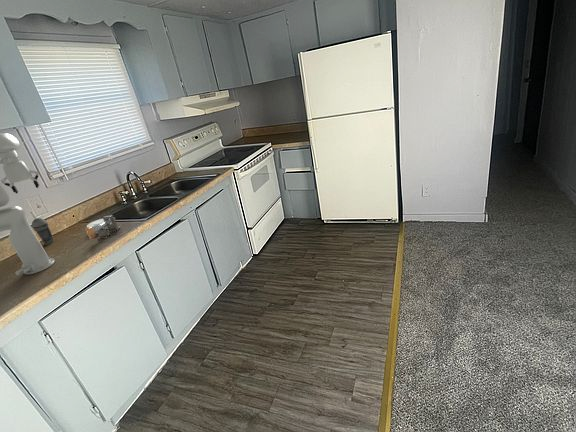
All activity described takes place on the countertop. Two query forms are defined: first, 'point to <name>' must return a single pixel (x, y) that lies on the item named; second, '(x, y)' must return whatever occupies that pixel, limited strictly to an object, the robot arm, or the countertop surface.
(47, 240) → the beverage cup
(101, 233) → the cradle
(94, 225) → the ramekin
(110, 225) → the eye post
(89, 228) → the hook rod
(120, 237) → the countertop surface
